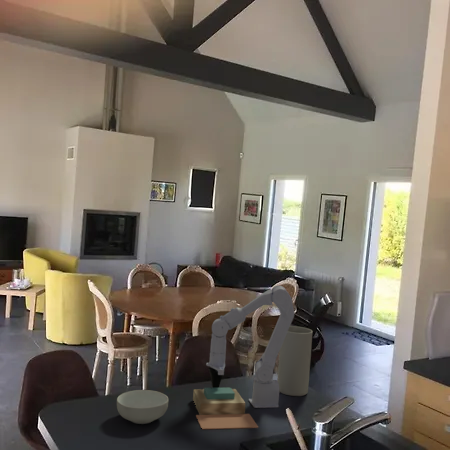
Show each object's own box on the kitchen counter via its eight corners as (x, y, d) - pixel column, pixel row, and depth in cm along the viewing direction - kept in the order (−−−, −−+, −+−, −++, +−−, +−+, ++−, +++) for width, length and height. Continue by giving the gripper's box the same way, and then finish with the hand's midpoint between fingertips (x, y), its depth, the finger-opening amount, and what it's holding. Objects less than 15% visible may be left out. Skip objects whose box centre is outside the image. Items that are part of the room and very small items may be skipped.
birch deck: (234, 399, 197) (235, 389, 197) (244, 414, 184) (245, 402, 183) (192, 400, 193) (193, 389, 193) (199, 415, 180) (200, 403, 180)
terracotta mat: (249, 414, 183) (249, 413, 183) (258, 427, 173) (258, 426, 173) (195, 415, 179) (195, 415, 179) (201, 429, 168) (201, 428, 168)
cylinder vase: (290, 384, 220) (294, 325, 219) (314, 393, 211) (318, 331, 210) (270, 389, 211) (274, 327, 211) (294, 399, 202) (298, 334, 201)
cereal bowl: (147, 405, 185) (148, 386, 185) (177, 421, 173) (178, 400, 173) (105, 416, 173) (107, 395, 173) (134, 434, 161) (136, 411, 161)
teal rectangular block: (230, 392, 192) (230, 387, 192) (234, 398, 187) (234, 393, 187) (203, 393, 190) (204, 387, 190) (206, 399, 184) (207, 393, 184)
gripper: (203, 346, 200) (201, 381, 200) (211, 357, 186) (208, 395, 186) (221, 346, 202) (219, 381, 202) (230, 357, 188) (227, 395, 188)
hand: (215, 388), depth 194 cm, fingers closed
